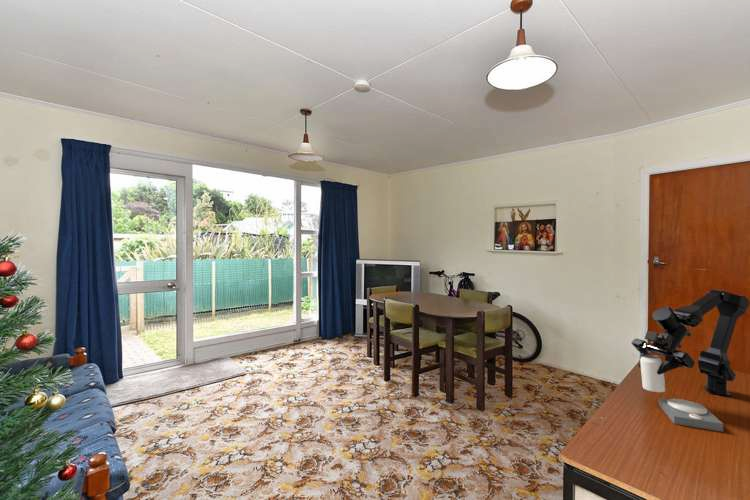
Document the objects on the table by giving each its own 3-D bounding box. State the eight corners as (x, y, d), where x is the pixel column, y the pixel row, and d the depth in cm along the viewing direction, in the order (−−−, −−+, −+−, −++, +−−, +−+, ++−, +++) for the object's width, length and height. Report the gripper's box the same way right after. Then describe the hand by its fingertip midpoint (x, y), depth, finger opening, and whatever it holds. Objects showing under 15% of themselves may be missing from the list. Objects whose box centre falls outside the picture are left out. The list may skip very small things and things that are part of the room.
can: (670, 393, 121) (666, 358, 122) (650, 392, 122) (647, 358, 123) (657, 387, 127) (654, 354, 128) (638, 387, 128) (635, 354, 129)
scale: (658, 404, 124) (659, 395, 124) (701, 410, 119) (702, 401, 119) (674, 423, 111) (674, 413, 111) (723, 431, 106) (723, 421, 106)
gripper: (635, 317, 135) (612, 348, 132) (688, 330, 116) (663, 365, 114) (650, 335, 137) (628, 366, 134) (705, 350, 119) (681, 386, 116)
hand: (648, 370), depth 125 cm, fingers closed on can, 6 cm apart
